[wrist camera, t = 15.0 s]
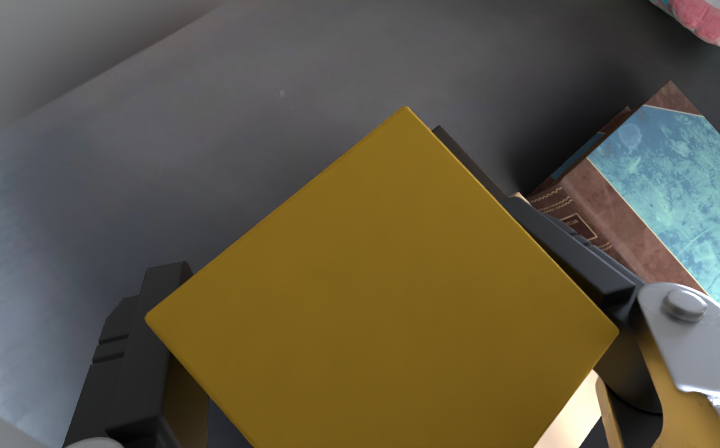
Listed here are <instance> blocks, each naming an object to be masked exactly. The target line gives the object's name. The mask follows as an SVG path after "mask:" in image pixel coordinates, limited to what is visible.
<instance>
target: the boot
mask: <svg viewBox="0 0 720 448" xmlns="http://www.w3.org/2000/svg"><path fill="white" fill-rule="evenodd" d="M504 198H509V197H508V196H507V195H506V194H505V193H504V192H503V191H502V190H501V189H500V188H499V187H498V186H497V185H496V183H495V182H494V181H493V180H492V179H491V178H490V177H489V176H488V175H487V174H486V173H485V172H484V171H483V170H482V169H481V168H480V167H479V166H478V165H477V163H476V162H475V161H474V160H473V159H472V158H471V157H470V156H469V155H468V154H467V153H466V152H465V151H464V150H463V149H462V148H461V147H460V146H459V145H458V144H457V142H456V141H455V140H454V139H453V138H452V137H451V136H450V135H449V134H448V133H447V132H446V131H445V130H444V129H443V128H442V127H441V126H440V125H439V126H437V127H436V128H435V129H434V130H432V131H430V129H429V128H428V127H427V126H426V125H425V124H424V123H423V122H422V121H421V120H420V119H419V118H418V117H417V116H416V115H415V114H414V113H413V112H412V111H411V109H410V108H409V107H407V106H404V107H401V108H400V109H399V110H398V111H396V112H395V113H394V114H393V115H391V116H390V117H389V118H388V119H386V120H385V121H384V122H383V123H381V124H380V125H379V126H378V127H377V128H375V129H374V130H373V131H372V132H370V133H369V134H368V135H367V136H365V137H364V138H363V139H362V140H360V141H359V142H358V143H357V144H356V145H354V146H353V147H352V148H351V149H349V150H348V151H347V152H346V153H344V154H343V155H342V156H341V157H339V158H338V159H337V160H336V161H335V162H333V163H332V164H331V165H330V166H328V167H327V168H326V169H325V170H323V171H322V172H321V173H320V174H318V175H317V176H316V177H315V178H314V179H312V180H311V181H310V182H309V183H307V184H306V185H305V186H304V187H302V188H301V189H300V190H299V191H298V192H296V193H295V194H294V195H293V196H291V197H290V198H289V199H288V200H286V201H285V202H284V203H283V204H281V205H280V206H279V207H278V208H277V209H275V210H274V211H273V212H272V213H270V214H269V215H268V216H267V217H265V218H264V219H263V220H262V221H260V222H259V223H258V224H257V225H256V226H254V227H253V228H252V229H251V230H249V231H248V232H247V233H246V234H244V235H243V236H242V237H241V238H239V239H238V240H237V241H236V242H235V243H233V244H232V245H231V246H230V247H228V248H227V249H226V250H225V251H223V252H222V253H221V254H220V255H218V256H217V257H216V258H215V259H214V260H212V261H211V262H210V263H209V264H207V265H206V266H205V267H204V268H202V269H201V270H200V271H199V272H197V273H196V274H195V275H194V276H193V277H191V278H190V279H189V280H188V281H186V282H185V283H184V284H183V285H181V286H180V287H179V288H178V289H176V290H175V291H174V292H173V293H172V294H170V295H169V296H168V297H167V298H165V299H164V300H163V301H162V302H160V303H159V304H158V305H157V306H155V307H154V308H153V309H152V310H151V311H149V312H148V313H147V315H146V316H145V321H146V324H147V325H148V326H149V327H150V328H151V329H152V330H153V332H154V333H155V334H156V335H157V336H158V337H159V339H160V340H161V341H162V342H163V343H164V344H165V346H166V347H167V348H168V349H169V350H170V351H171V352H172V354H173V355H174V356H175V357H176V358H177V359H178V361H179V362H180V363H181V364H182V365H183V366H184V368H185V369H186V370H187V371H188V372H189V373H190V374H191V376H192V377H193V378H194V379H195V380H196V381H197V383H198V384H199V385H200V386H201V387H202V388H203V390H204V391H205V392H206V393H207V394H208V395H209V396H210V398H211V399H212V400H213V401H214V402H215V403H216V405H217V406H218V407H219V408H220V409H221V410H222V412H223V413H224V414H225V415H226V416H227V417H228V418H229V420H230V421H231V422H232V423H233V424H234V425H235V427H236V428H237V429H238V430H239V431H240V432H241V434H242V435H243V436H244V437H245V438H246V439H247V440H248V442H249V443H250V444H251V445H252V446H253V447H254V448H534V447H535V445H536V444H537V443H538V441H539V440H540V439H541V437H542V436H543V435H544V433H545V432H546V431H547V429H548V428H549V427H550V425H551V424H552V423H553V421H554V420H555V419H556V417H557V416H558V415H559V413H560V412H561V411H562V409H563V408H564V407H565V405H566V404H567V403H568V401H569V400H570V399H571V397H572V396H573V394H574V393H575V392H576V390H577V389H578V388H579V386H580V385H581V384H582V382H583V381H584V380H585V378H586V377H587V376H588V374H589V373H590V372H591V370H592V369H593V368H594V366H595V365H596V364H597V362H598V361H599V360H600V358H601V357H602V356H603V354H604V353H605V352H606V350H607V349H608V348H609V346H610V345H611V344H612V342H613V341H614V340H615V338H616V337H617V336H618V334H619V329H618V328H617V327H616V326H615V325H614V323H613V322H612V321H611V320H610V319H609V318H608V317H607V316H606V315H605V314H604V313H603V312H602V311H601V310H600V309H599V308H598V307H597V306H596V304H595V303H594V302H593V301H592V300H591V299H590V298H589V297H588V296H587V295H586V294H585V293H584V292H583V291H582V290H581V289H580V288H579V287H578V286H577V284H576V283H575V282H574V281H573V280H572V279H571V278H570V277H569V276H568V275H567V274H566V273H565V272H564V271H563V270H562V269H561V268H560V267H559V265H558V264H557V263H556V262H555V261H554V260H553V259H552V258H551V257H550V256H549V255H548V254H547V253H546V252H545V251H544V250H543V249H542V248H541V247H540V245H539V244H538V243H537V242H536V241H535V240H534V239H533V238H532V237H531V236H530V235H529V234H528V233H527V232H526V231H525V230H524V229H523V228H522V226H521V225H520V224H519V223H518V222H517V221H516V220H515V219H514V218H513V217H512V216H511V215H510V214H509V213H508V212H507V211H506V210H505V209H504V208H503V206H502V205H501V204H500V203H499V202H498V201H497V200H499V199H504Z"/></svg>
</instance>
